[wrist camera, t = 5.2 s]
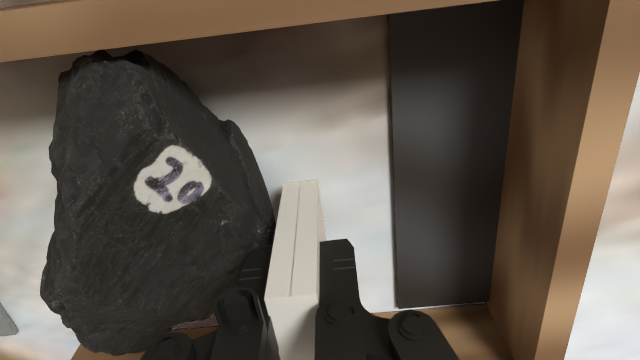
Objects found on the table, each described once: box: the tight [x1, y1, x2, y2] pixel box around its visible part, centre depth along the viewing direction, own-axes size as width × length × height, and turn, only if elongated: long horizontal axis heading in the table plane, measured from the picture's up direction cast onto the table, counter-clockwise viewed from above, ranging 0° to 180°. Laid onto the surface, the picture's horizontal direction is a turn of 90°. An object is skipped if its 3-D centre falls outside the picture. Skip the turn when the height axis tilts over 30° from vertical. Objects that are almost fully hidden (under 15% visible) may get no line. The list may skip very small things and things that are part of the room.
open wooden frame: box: [0, 0, 640, 360], centre depth 16 cm, size 18×24×5 cm
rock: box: [40, 50, 276, 356], centre depth 16 cm, size 8×11×10 cm
